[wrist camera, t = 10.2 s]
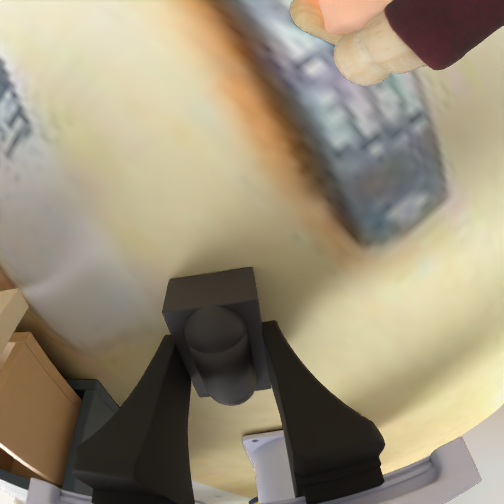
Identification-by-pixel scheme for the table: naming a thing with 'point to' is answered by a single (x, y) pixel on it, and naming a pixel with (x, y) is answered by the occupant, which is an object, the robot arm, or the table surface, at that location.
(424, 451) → the table surface
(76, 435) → the cabinet
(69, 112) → the table surface
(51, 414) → the drawer
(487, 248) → the table surface
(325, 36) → the grandmother figurine
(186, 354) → the block
